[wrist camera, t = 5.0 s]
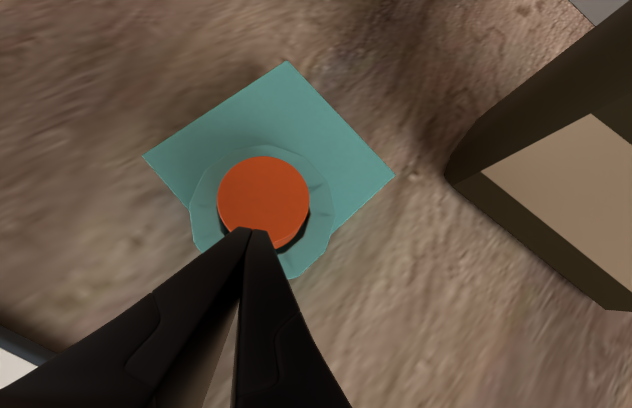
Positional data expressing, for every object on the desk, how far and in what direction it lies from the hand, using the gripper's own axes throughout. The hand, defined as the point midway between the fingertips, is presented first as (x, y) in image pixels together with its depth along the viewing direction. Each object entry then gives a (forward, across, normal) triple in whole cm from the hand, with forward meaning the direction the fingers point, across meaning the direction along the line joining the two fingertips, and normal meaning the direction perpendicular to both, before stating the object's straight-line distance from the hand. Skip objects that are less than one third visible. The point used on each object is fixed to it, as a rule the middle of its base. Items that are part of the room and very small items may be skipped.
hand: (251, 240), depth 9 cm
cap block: (+11, 0, +4) cm, 12 cm away
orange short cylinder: (+5, 0, +2) cm, 6 cm away
